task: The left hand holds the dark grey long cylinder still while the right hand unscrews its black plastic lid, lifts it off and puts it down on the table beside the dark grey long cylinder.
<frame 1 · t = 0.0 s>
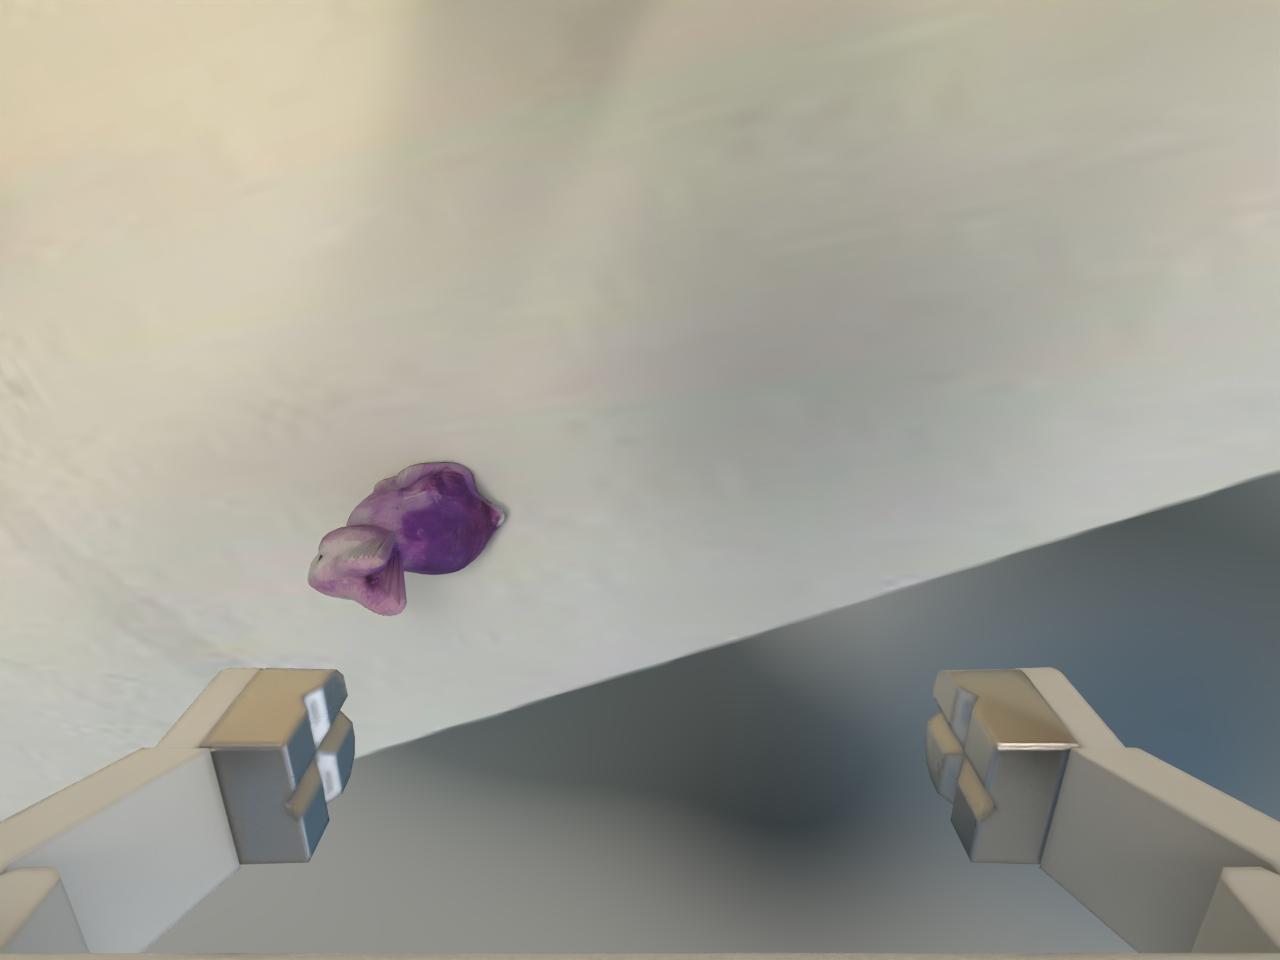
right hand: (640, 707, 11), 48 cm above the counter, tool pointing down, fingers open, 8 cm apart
figurine: (430, 508, 62), on the counter
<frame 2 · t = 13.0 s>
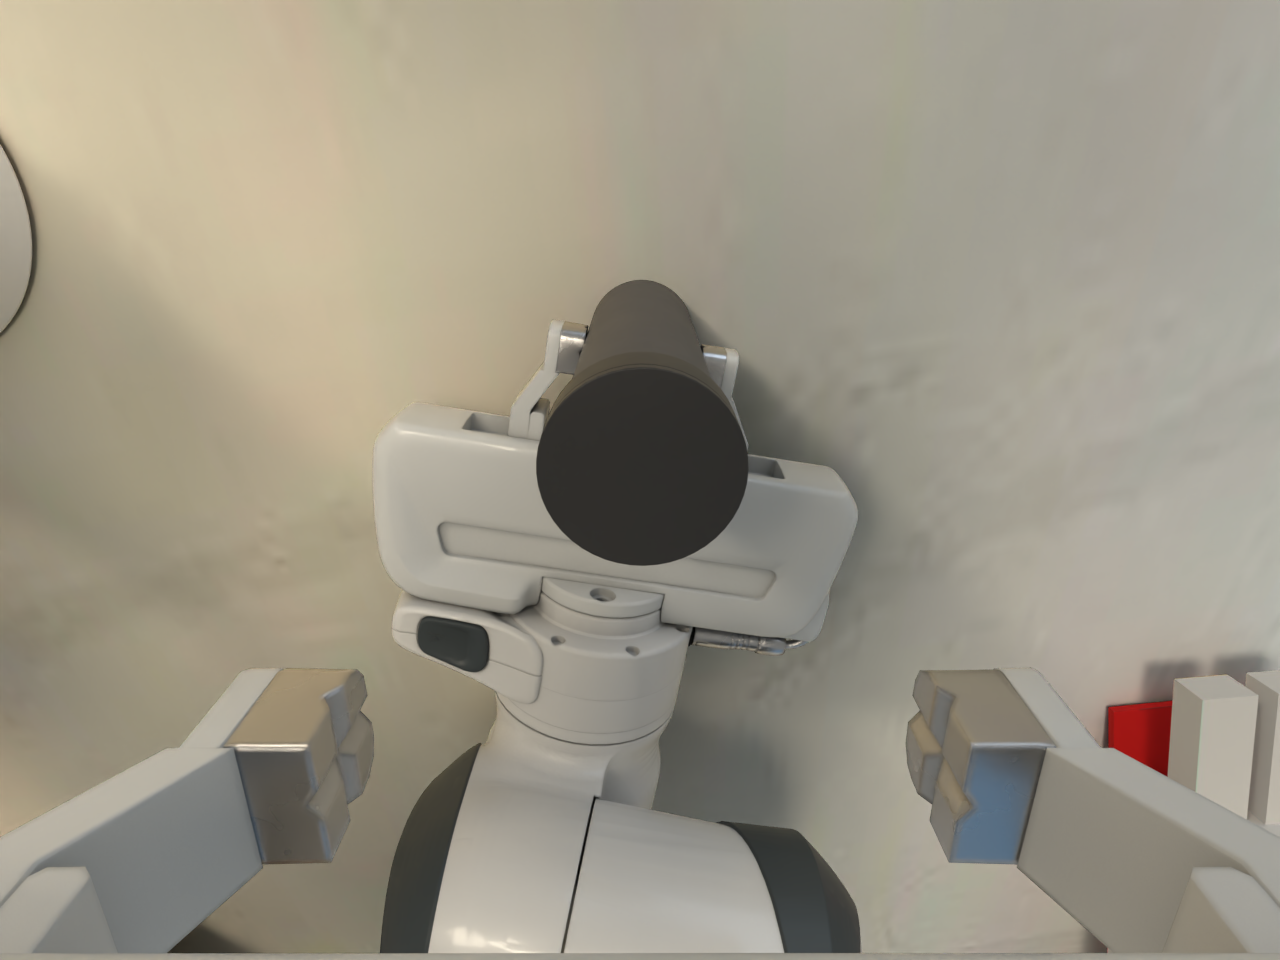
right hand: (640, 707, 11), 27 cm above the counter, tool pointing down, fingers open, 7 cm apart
left hand: (644, 336, 30), fingers closed on dark grey long cylinder, 5 cm apart
dark grey long cylinder: (641, 331, 36), on the counter, touching left hand
toy: (1155, 840, 48), on the counter
lid: (642, 467, 19), point 18 cm above the counter, screwed on, not yet turned
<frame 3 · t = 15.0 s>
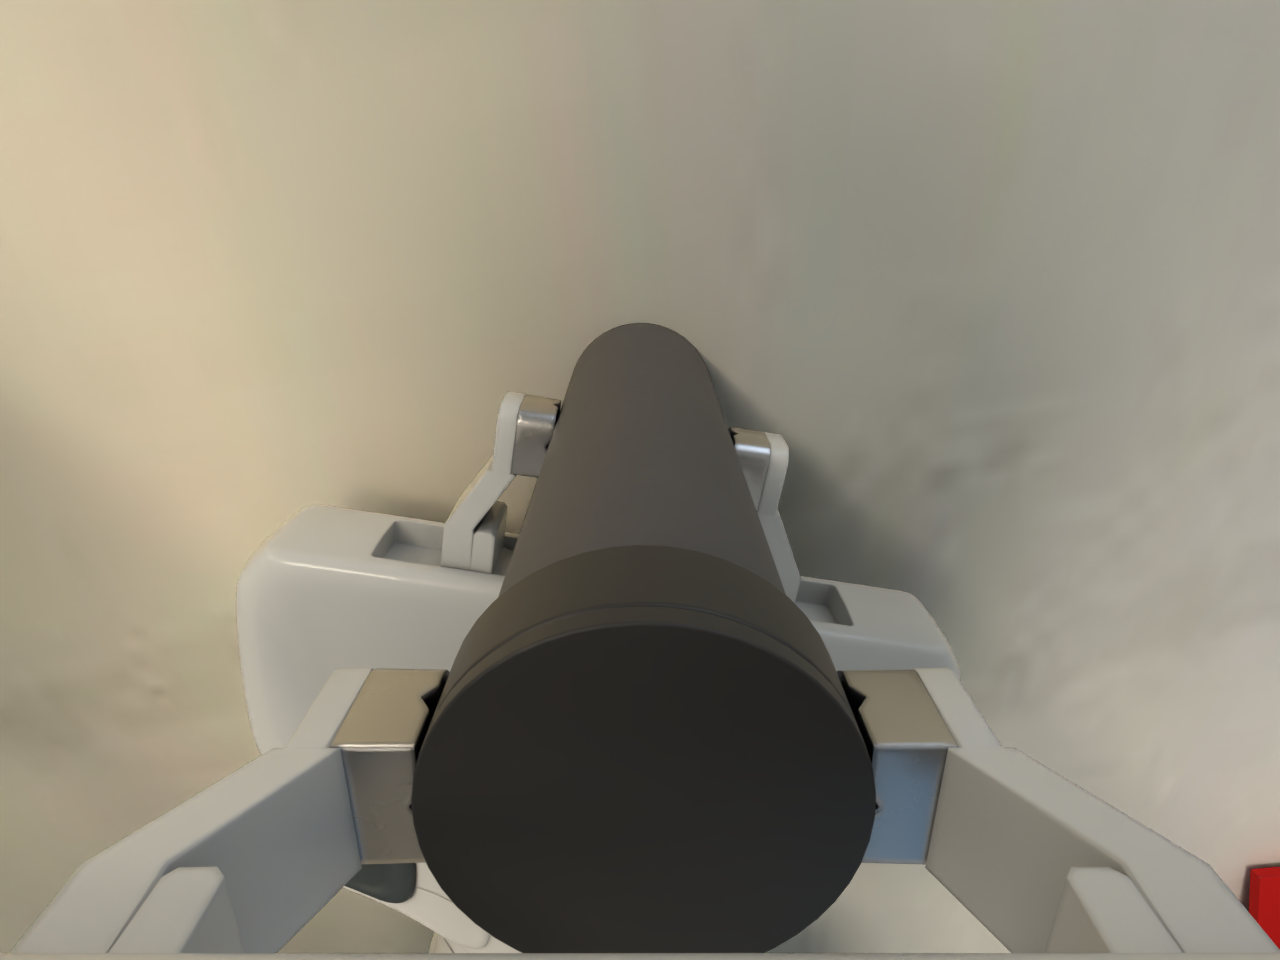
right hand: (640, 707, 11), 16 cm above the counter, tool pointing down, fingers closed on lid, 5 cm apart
dark grey long cylinder: (640, 393, 26), on the counter, touching left hand
lid: (643, 798, 9), point 18 cm above the counter, screwed on, not yet turned, touching right hand
when the right hand's fingers open (17 cm above the counter, at t = 16.6 s): lid stays where it is, point 18 cm above the counter.
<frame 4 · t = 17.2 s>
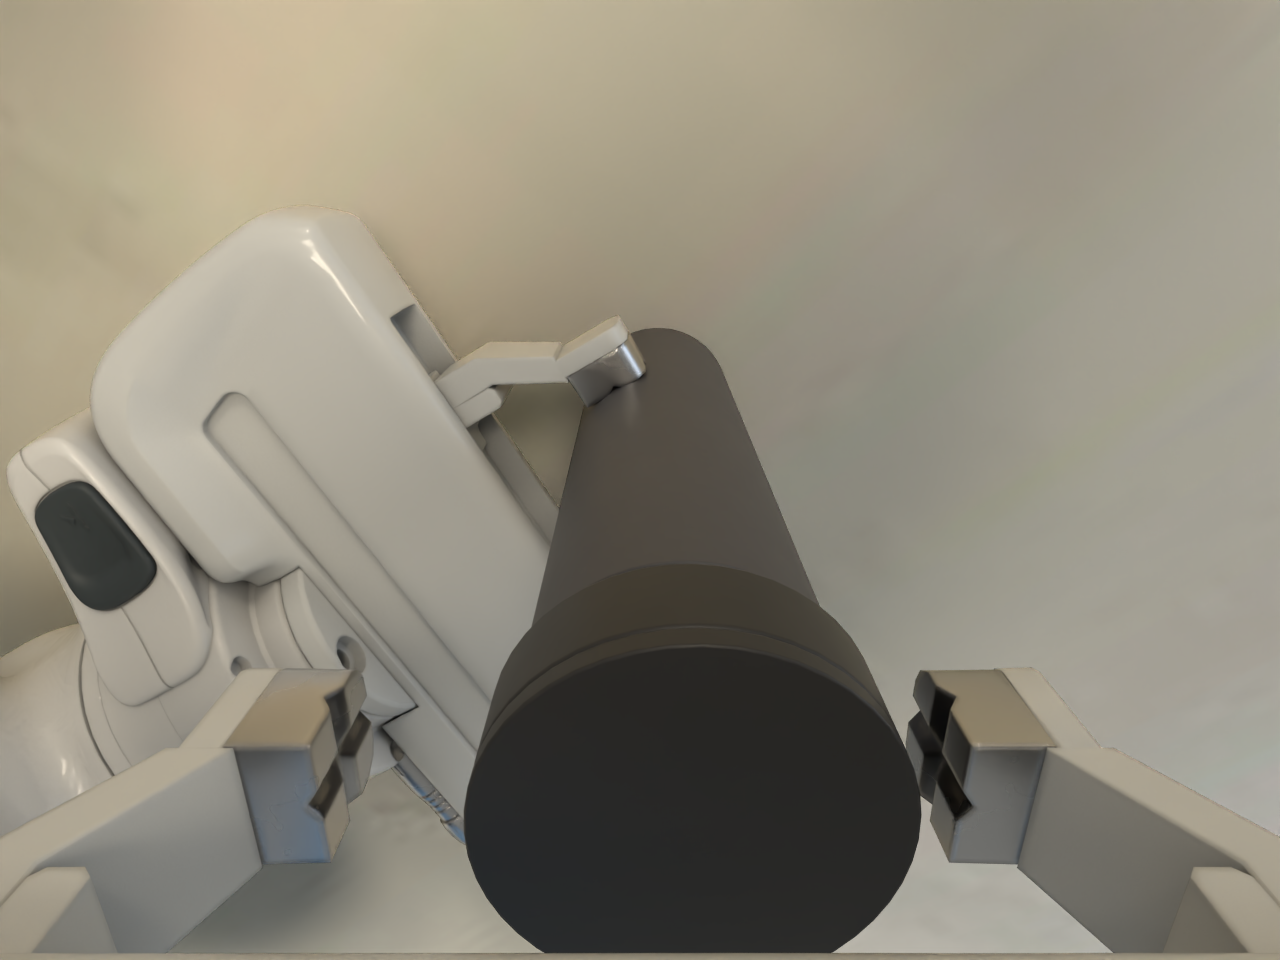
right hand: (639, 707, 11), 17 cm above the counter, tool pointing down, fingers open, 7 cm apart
left hand: (689, 437, 21), fingers closed on dark grey long cylinder, 5 cm apart
dark grey long cylinder: (657, 396, 26), on the counter, touching left hand
lid: (690, 814, 9), point 18 cm above the counter, turned 94° so far, risen 0.3 cm, still on its thread
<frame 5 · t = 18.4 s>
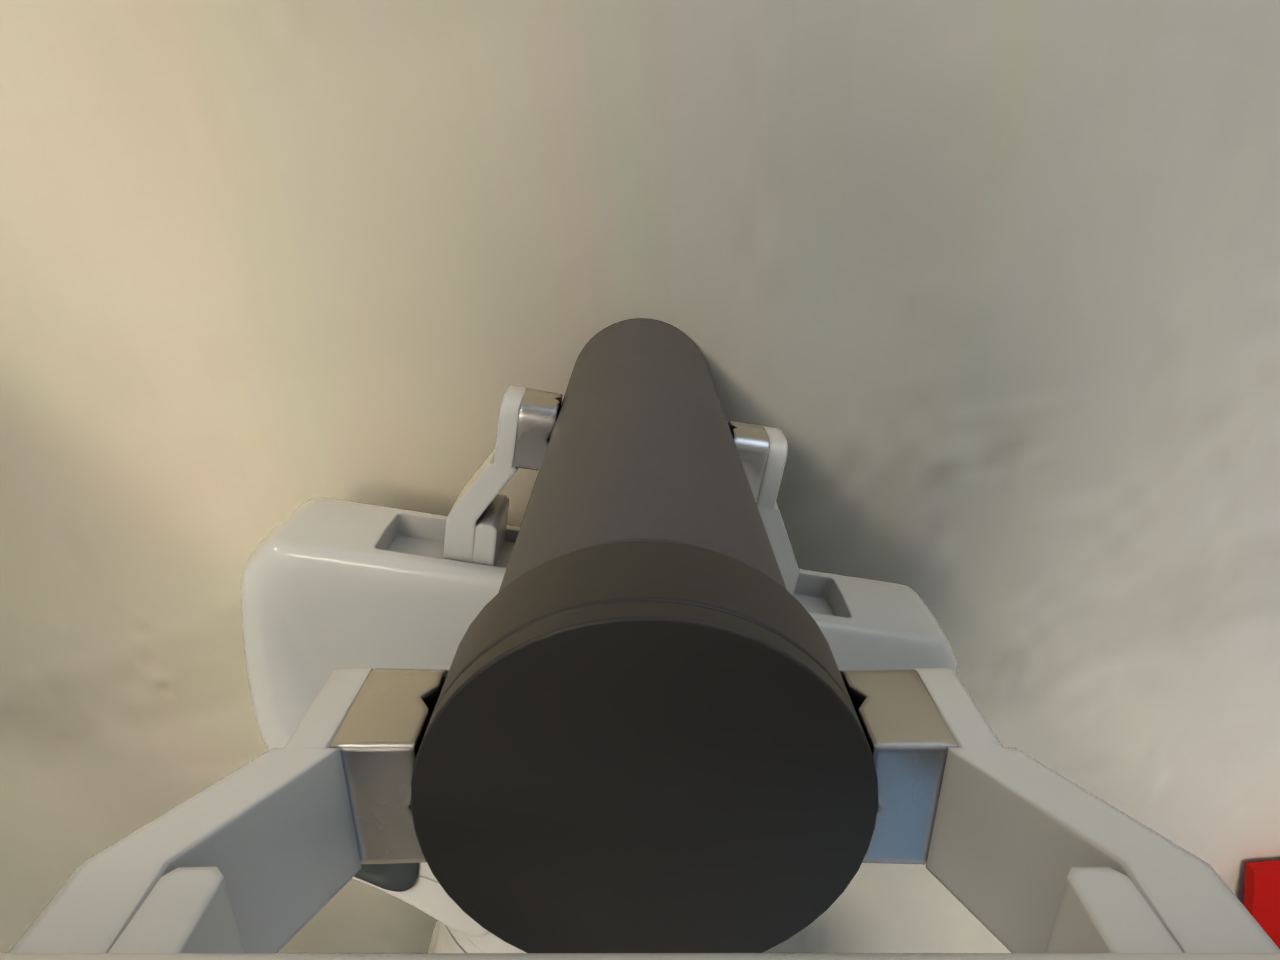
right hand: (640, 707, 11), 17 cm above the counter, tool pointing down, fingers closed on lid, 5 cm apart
dark grey long cylinder: (641, 388, 26), on the counter, touching left hand
lid: (644, 795, 9), point 18 cm above the counter, turned 94° so far, risen 0.3 cm, still on its thread, touching right hand
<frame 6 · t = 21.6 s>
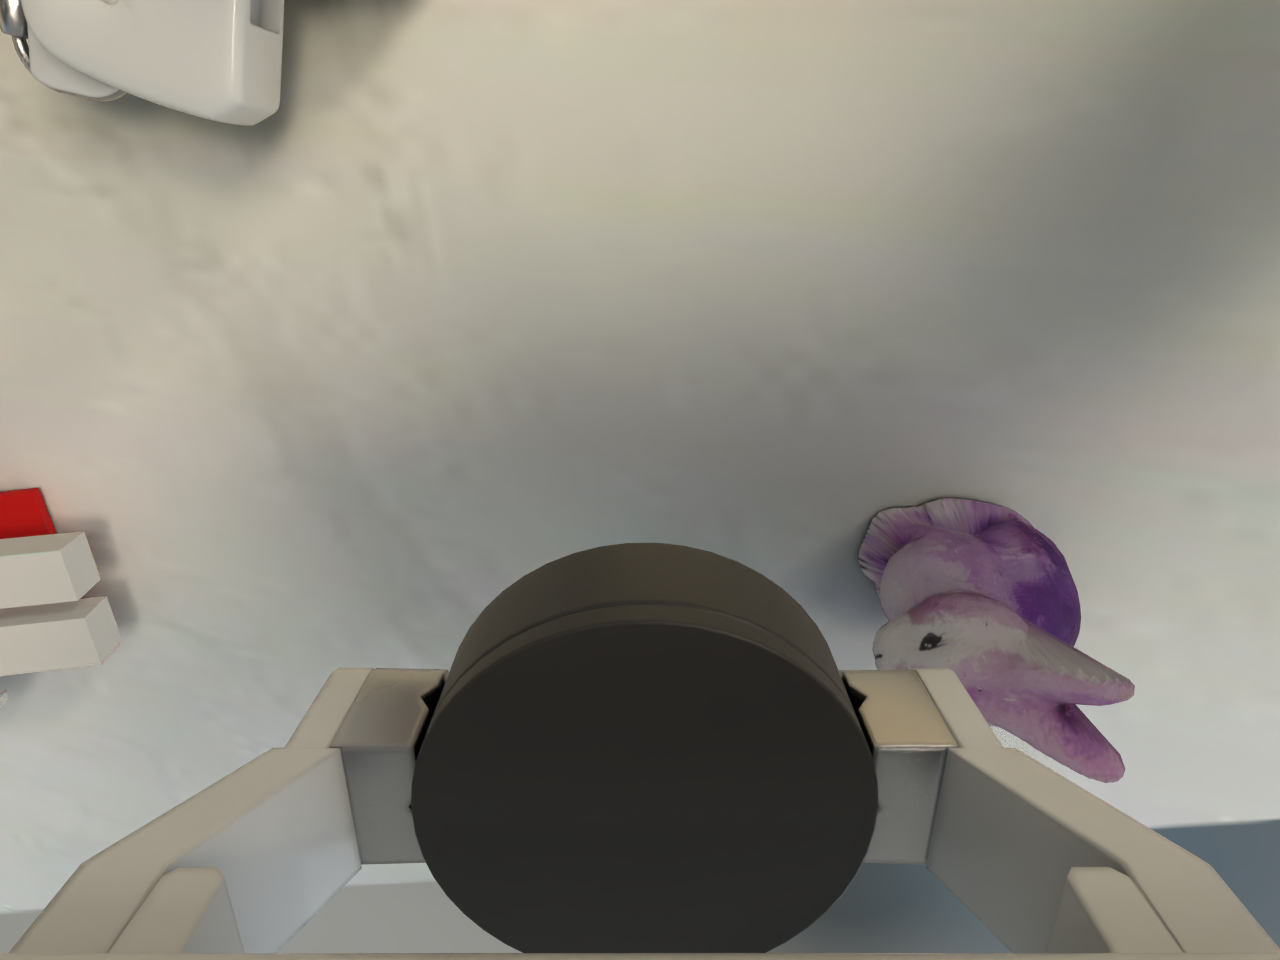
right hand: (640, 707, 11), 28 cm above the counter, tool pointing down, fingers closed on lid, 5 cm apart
lid: (644, 797, 9), point 30 cm above the counter, off its thread, touching right hand
figurine: (934, 562, 41), on the counter
when the right hand's fingers open (2 cm above the counter, at t = 24.6 s): lid drops 2 cm, point 1 cm above the counter.
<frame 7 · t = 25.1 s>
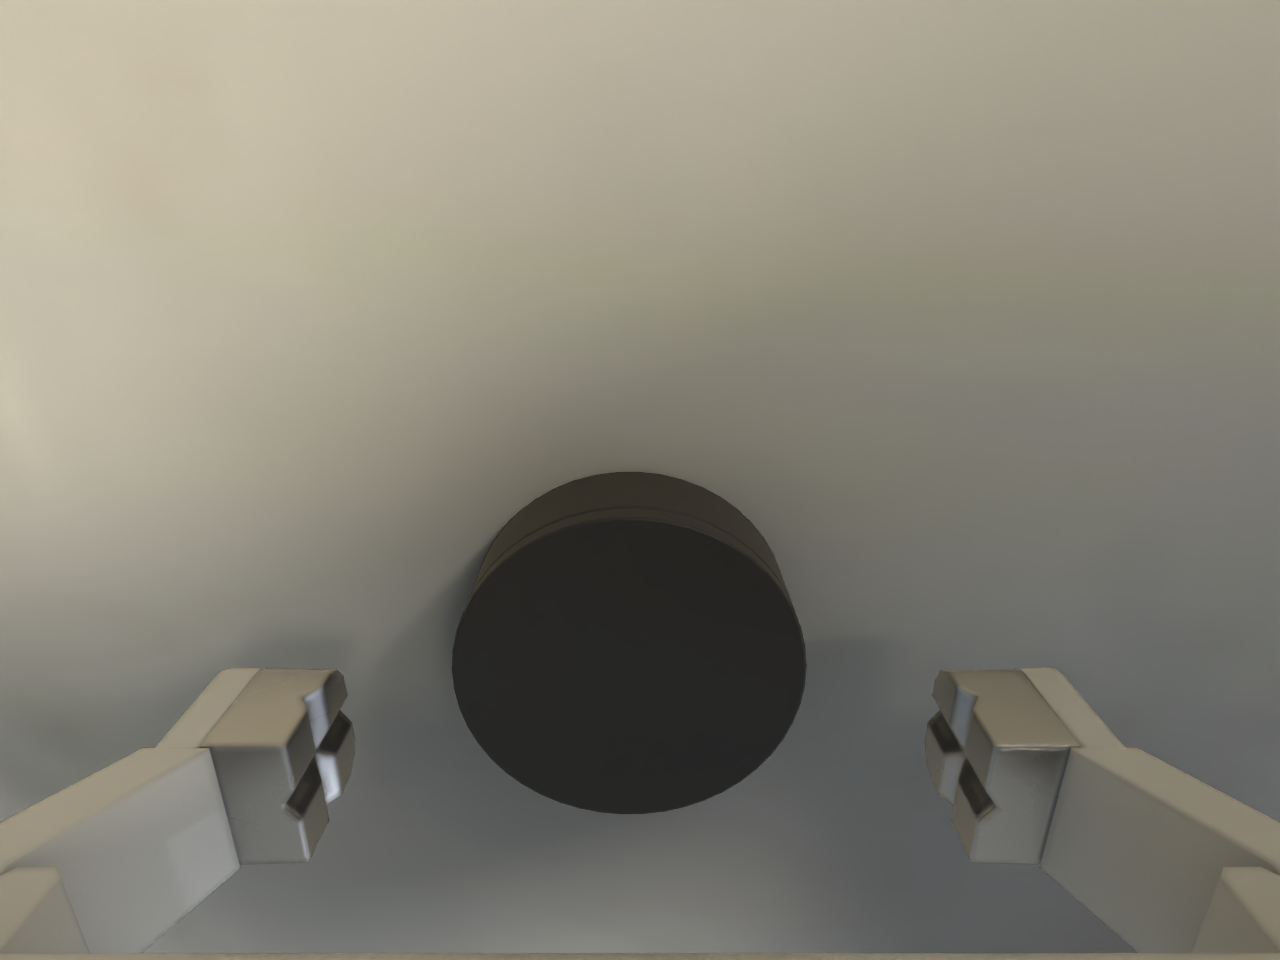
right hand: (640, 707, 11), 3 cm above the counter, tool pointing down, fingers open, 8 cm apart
lid: (629, 665, 12), point 1 cm above the counter, off its thread
when the left hand's fingers open (6 cm above the counter, at t = 25.6 s): dark grey long cylinder stays where it is, on the counter.
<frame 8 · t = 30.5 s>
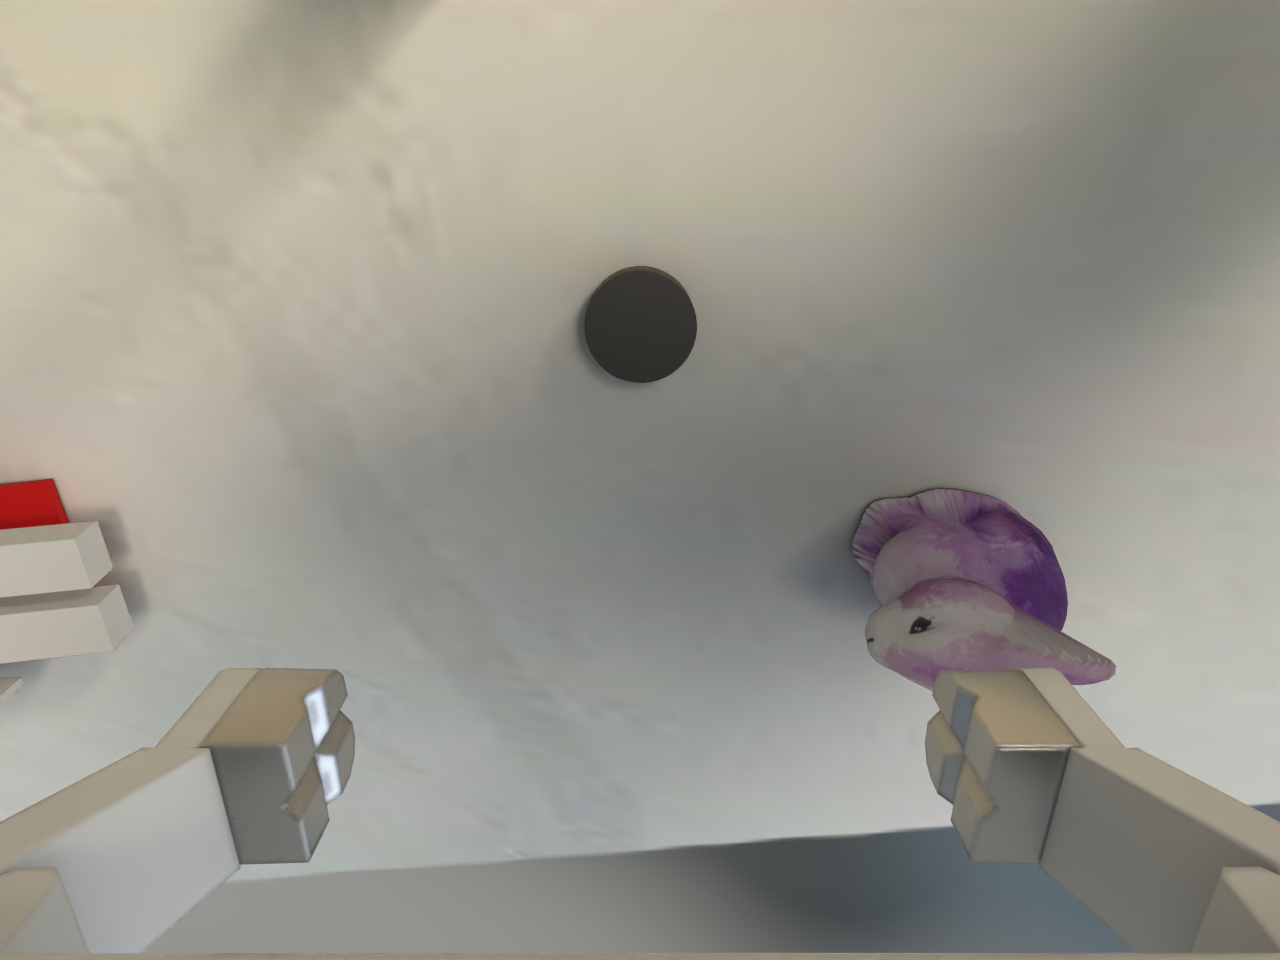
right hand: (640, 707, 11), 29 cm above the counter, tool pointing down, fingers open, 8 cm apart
lid: (640, 326, 36), point 1 cm above the counter, off its thread
figurine: (926, 551, 42), on the counter
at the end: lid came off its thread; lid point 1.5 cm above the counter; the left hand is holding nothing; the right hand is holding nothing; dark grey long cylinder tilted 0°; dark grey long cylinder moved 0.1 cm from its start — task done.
